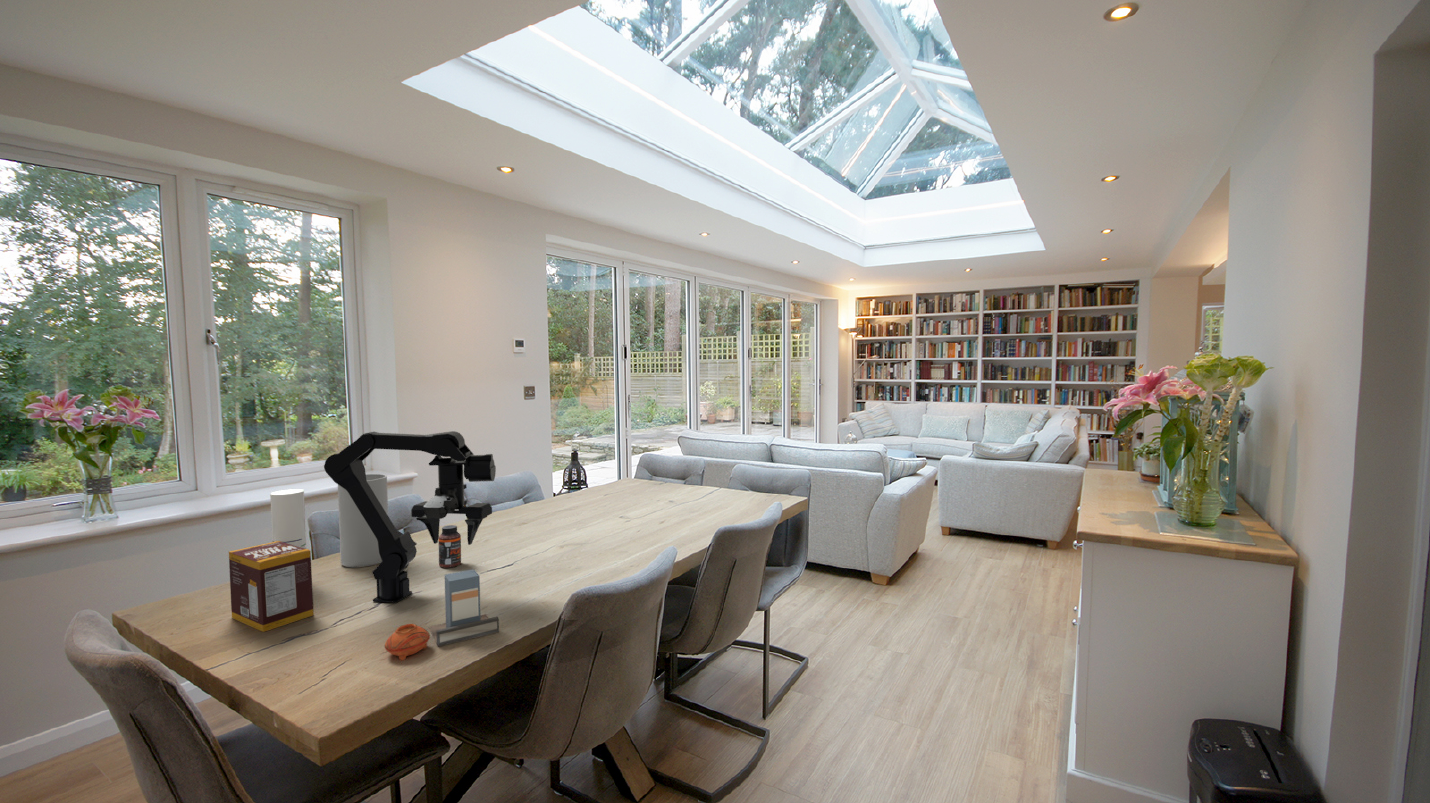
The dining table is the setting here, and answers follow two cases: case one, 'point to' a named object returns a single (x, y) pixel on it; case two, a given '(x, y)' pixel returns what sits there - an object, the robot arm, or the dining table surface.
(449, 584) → the blue-grey carton
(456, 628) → the plate
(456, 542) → the supplement bottle
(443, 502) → the robot arm
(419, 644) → the pot
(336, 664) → the dining table surface
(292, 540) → the cylindrical container
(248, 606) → the supplement box
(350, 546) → the cylinder vase
